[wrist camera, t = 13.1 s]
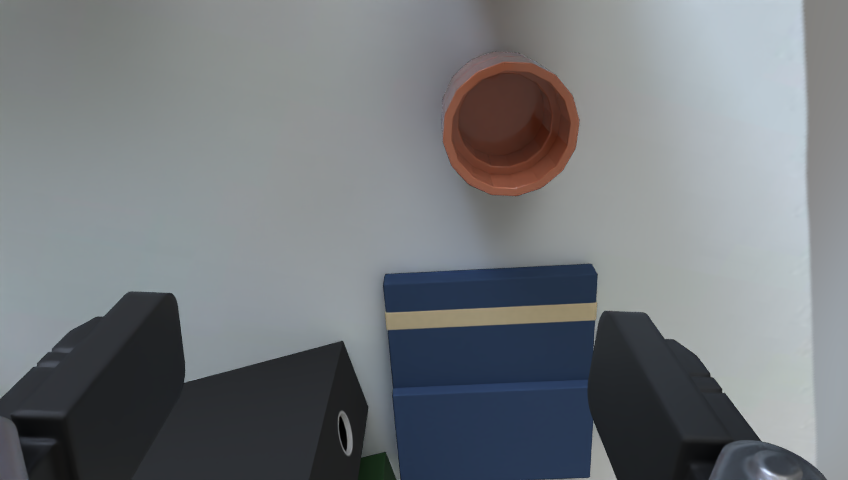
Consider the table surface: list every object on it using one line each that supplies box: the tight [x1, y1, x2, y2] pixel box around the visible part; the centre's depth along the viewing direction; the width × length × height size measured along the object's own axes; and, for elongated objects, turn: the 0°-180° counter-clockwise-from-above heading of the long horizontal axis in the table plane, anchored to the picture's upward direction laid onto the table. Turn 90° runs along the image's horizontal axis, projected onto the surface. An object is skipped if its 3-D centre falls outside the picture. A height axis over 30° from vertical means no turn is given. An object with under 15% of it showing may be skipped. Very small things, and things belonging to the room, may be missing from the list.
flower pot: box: [441, 51, 579, 196], centre depth 29 cm, size 6×6×5 cm
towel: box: [383, 264, 598, 480], centre depth 37 cm, size 12×14×2 cm
